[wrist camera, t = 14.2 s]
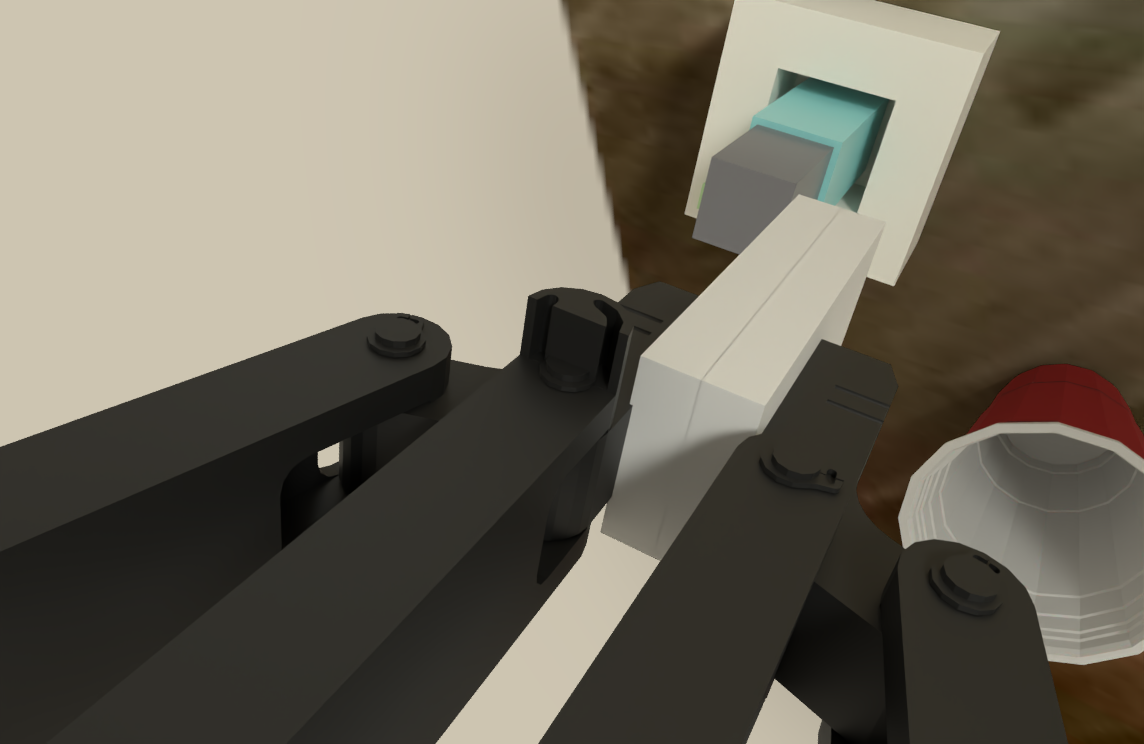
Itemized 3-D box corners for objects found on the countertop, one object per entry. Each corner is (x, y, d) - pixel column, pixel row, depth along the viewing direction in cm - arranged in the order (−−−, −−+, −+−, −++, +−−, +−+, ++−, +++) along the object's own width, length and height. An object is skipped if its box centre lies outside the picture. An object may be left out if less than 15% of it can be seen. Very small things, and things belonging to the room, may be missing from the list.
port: (779, -24, 43) (734, -9, 38) (1000, 31, 39) (983, 54, 35) (727, 180, 48) (682, 216, 43) (917, 242, 45) (892, 288, 40)
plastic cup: (1076, 264, 42) (1063, 378, 33) (1246, 434, 42) (1282, 598, 32) (894, 392, 49) (840, 517, 40) (1039, 539, 49) (1019, 700, 39)
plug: (814, 73, 42) (706, 147, 31) (891, 94, 41) (805, 179, 30) (793, 147, 44) (683, 241, 33) (865, 169, 43) (776, 274, 32)
